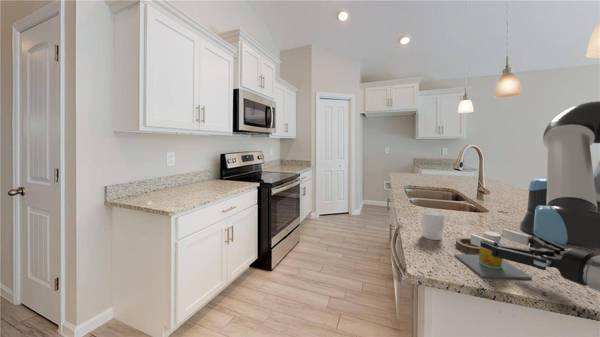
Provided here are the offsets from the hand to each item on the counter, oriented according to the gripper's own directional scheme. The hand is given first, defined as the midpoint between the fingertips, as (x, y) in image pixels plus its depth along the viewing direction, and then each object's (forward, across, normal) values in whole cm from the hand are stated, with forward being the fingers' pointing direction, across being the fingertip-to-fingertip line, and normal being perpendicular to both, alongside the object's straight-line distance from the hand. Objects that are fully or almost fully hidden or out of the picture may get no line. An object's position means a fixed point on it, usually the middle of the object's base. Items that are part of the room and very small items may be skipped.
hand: (487, 235), depth 71 cm
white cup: (+22, +4, -10) cm, 25 cm away
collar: (+10, +8, -9) cm, 16 cm away
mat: (-1, 0, -9) cm, 9 cm away
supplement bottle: (-1, 0, -9) cm, 9 cm away
